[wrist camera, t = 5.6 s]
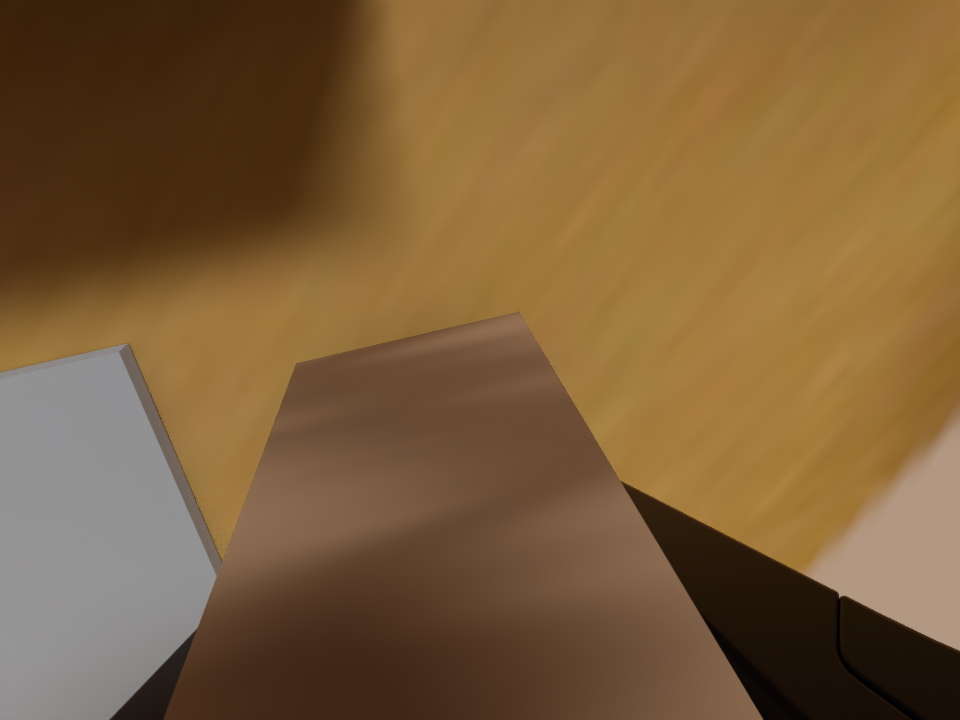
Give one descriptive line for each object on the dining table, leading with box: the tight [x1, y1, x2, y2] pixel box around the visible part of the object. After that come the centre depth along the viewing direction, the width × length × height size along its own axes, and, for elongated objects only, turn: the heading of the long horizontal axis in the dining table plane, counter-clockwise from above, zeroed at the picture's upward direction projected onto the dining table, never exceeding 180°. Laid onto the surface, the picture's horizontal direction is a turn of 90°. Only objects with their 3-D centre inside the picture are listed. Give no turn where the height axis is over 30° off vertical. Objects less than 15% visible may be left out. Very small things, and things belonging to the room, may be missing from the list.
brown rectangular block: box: [163, 312, 763, 720], centre depth 7 cm, size 4×4×10 cm
